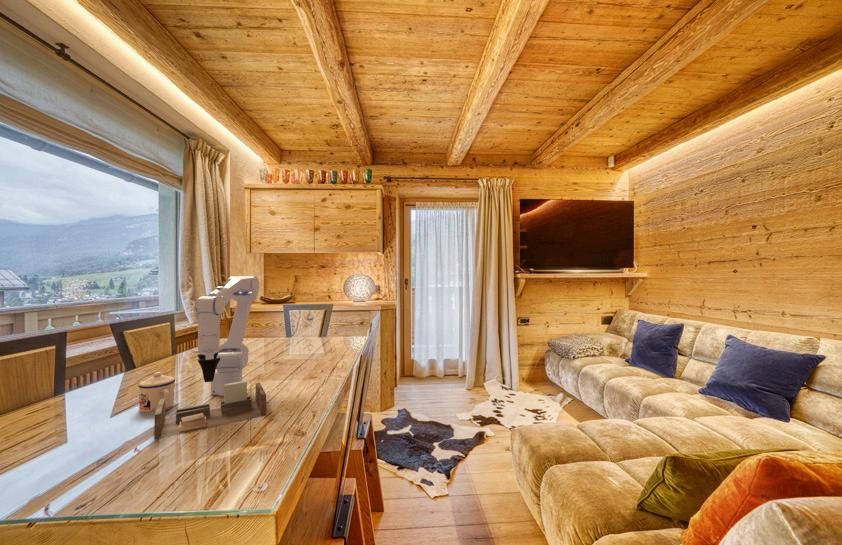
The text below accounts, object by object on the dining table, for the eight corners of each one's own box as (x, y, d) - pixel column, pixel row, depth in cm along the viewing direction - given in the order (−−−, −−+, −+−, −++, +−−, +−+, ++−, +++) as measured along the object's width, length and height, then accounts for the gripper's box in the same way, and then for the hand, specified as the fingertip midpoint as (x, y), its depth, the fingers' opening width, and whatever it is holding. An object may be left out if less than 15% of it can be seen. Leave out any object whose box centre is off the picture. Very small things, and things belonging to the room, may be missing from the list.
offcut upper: (181, 422, 90) (181, 417, 90) (202, 417, 93) (202, 412, 93) (182, 426, 88) (182, 422, 88) (204, 421, 91) (204, 416, 91)
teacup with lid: (133, 411, 103) (133, 374, 103) (167, 402, 111) (167, 367, 111) (149, 420, 96) (149, 380, 97) (184, 409, 104) (184, 372, 104)
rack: (159, 422, 95) (160, 398, 95) (259, 403, 109) (259, 382, 109) (154, 443, 83) (154, 415, 83) (266, 418, 98) (266, 394, 98)
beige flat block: (224, 410, 101) (224, 384, 101) (246, 405, 105) (246, 380, 105) (224, 411, 100) (224, 385, 100) (246, 407, 103) (246, 381, 103)
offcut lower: (179, 426, 90) (179, 421, 90) (205, 420, 94) (205, 416, 94) (179, 431, 87) (179, 427, 87) (206, 426, 90) (206, 421, 90)
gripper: (193, 333, 106) (192, 375, 106) (193, 339, 94) (192, 387, 94) (218, 331, 110) (218, 371, 110) (222, 336, 98) (221, 382, 98)
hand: (208, 378), depth 102 cm, fingers open, 7 cm apart
